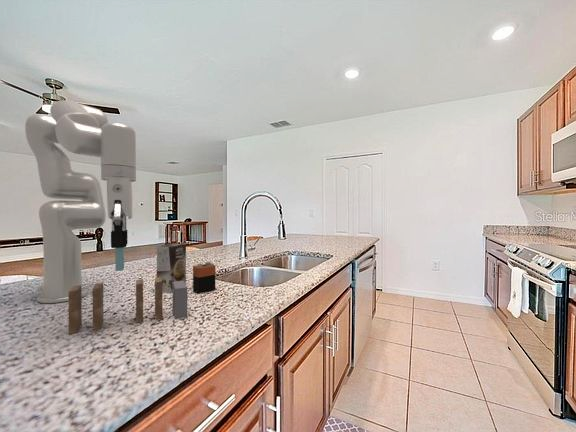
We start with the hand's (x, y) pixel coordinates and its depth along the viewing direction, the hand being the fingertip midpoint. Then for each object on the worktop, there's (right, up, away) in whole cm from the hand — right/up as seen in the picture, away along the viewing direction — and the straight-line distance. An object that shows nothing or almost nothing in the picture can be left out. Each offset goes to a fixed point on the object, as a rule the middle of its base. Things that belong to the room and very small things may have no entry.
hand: (119, 245), depth 69 cm
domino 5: (+8, -20, +4) cm, 22 cm away
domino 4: (+4, -20, +2) cm, 20 cm away
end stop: (+12, -20, +7) cm, 24 cm away
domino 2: (-4, -20, -2) cm, 20 cm away
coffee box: (0, -19, +31) cm, 36 cm away
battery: (+13, -20, +28) cm, 37 cm away
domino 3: (0, -6, 0) cm, 6 cm away
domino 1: (-8, -20, -4) cm, 22 cm away
